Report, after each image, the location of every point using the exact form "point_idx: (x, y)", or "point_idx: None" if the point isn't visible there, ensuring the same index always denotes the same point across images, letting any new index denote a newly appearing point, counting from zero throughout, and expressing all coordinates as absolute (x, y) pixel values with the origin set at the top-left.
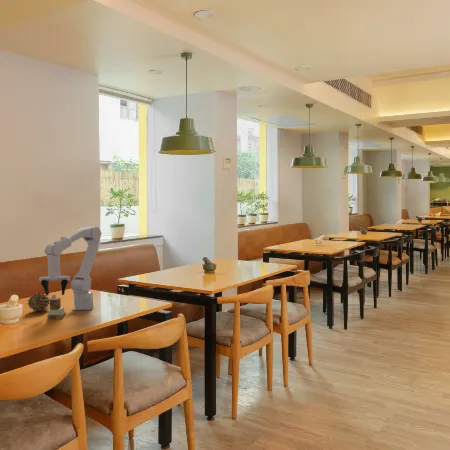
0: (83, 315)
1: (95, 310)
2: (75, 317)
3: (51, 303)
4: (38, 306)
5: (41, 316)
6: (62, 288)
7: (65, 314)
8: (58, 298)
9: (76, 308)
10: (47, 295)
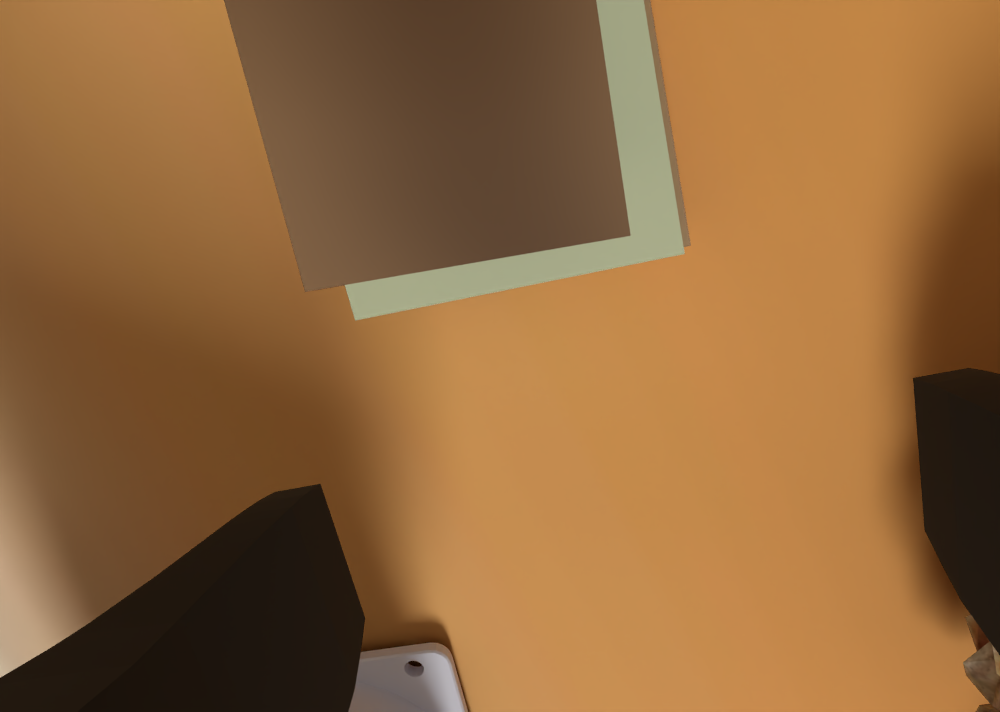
0: (5, 311)
1: (18, 661)
2: (67, 137)
3: None
4: None
5: (894, 152)
6: (133, 624)
7: None
8: (315, 173)
9: (373, 691)
10: (917, 380)
